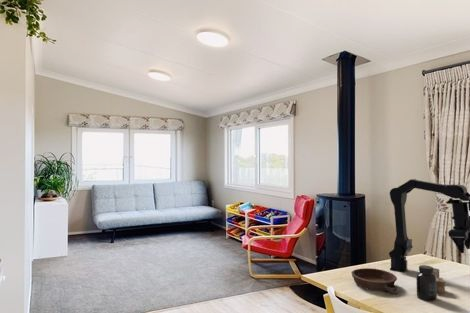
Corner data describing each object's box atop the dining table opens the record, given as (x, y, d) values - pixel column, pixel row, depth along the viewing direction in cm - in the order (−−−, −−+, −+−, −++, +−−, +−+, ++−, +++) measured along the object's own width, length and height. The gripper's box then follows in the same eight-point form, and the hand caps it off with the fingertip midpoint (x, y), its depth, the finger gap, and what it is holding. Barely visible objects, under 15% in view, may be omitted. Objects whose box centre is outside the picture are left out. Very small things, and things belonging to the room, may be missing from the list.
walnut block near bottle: (430, 292, 139) (430, 280, 139) (428, 288, 143) (428, 276, 143) (444, 294, 137) (444, 281, 137) (442, 290, 141) (442, 277, 141)
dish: (366, 275, 160) (366, 264, 160) (410, 290, 141) (410, 278, 141) (339, 281, 152) (339, 270, 152) (382, 299, 133) (382, 286, 133)
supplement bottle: (434, 295, 135) (434, 265, 135) (438, 302, 129) (438, 270, 129) (415, 293, 138) (414, 263, 138) (418, 300, 131) (417, 268, 131)
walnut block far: (422, 280, 153) (422, 268, 153) (427, 277, 156) (427, 266, 156) (435, 283, 149) (435, 271, 149) (439, 280, 152) (439, 269, 152)
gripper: (477, 217, 136) (482, 257, 135) (488, 211, 149) (493, 248, 148) (445, 216, 144) (450, 254, 143) (458, 211, 157) (463, 246, 156)
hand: (465, 250), depth 147 cm, fingers open, 9 cm apart
